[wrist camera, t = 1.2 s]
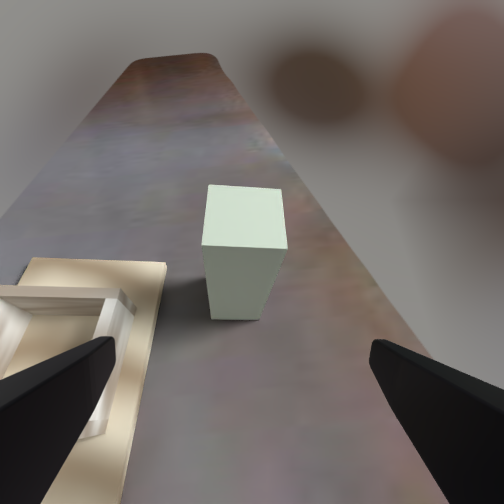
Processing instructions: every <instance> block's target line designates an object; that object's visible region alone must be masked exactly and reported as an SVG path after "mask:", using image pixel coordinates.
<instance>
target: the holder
mask: <svg viewBox="0 0 504 504" xmlns="http://www.w3.org/2000/svg"><path fill="white" fill-rule="evenodd" d="M166 270H167V266H166V263H165V262H142V261H115V260H88V259H61V258H34V257H33V258H32V259H31V261H30V263H29V265H28V267H27V268H26V270H25V272H24V274H23V276H22V277H21V279H20V281H19V283H18V285H0V380H1V379H3V378H6V377H8V376H10V375H13V374H15V373H17V372H19V371H22V370H24V369H26V368H29V367H31V366H33V365H35V364H38V363H40V362H42V361H45V360H47V359H49V358H51V357H54V356H56V355H58V354H61V353H63V352H65V351H67V350H70V349H72V348H74V347H77V346H79V345H81V344H83V343H86V342H88V341H90V340H93V339H95V338H97V337H100V336H112V337H114V339H115V348H116V363H115V366H114V369H113V371H112V373H111V375H110V378H109V380H108V382H107V384H106V386H105V388H104V391H103V393H102V395H101V397H100V399H99V402H98V404H97V406H96V408H95V410H94V412H93V414H92V416H91V418H90V419H89V421H88V423H87V425H86V426H85V428H84V430H83V431H82V433H81V435H80V437H79V438H78V440H77V442H76V444H75V445H74V447H73V449H72V450H71V452H70V454H69V456H68V457H67V459H66V461H65V462H64V464H63V466H62V468H61V469H60V471H59V473H58V475H57V476H56V478H55V480H54V481H53V483H52V485H51V487H50V488H49V490H48V492H47V493H46V495H45V497H44V499H43V500H42V502H41V504H120V502H121V497H122V492H123V487H124V482H125V477H126V472H127V466H128V461H129V456H130V451H131V446H132V441H133V436H134V431H135V426H136V421H137V416H138V411H139V406H140V401H141V396H142V391H143V386H144V381H145V376H146V371H147V366H148V361H149V356H150V351H151V346H152V341H153V336H154V331H155V326H156V321H157V316H158V311H159V306H160V301H161V295H162V290H163V285H164V280H165V275H166Z"/></svg>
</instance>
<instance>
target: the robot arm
mask: <svg viewBox="0 0 504 504" xmlns="http://www.w3.org/2000/svg"><path fill="white" fill-rule="evenodd" d="M115 363H116V348H115V339H114V337H112V336H100V337H97V338H95V339H93V340H90V341H88V342H86V343H83V344H81V345H79V346H77V347H74V348H72V349H70V350H67V351H65V352H63V353H61V354H58V355H56V356H54V357H51V358H49V359H47V360H45V361H42V362H40V363H38V364H35V365H33V366H31V367H29V368H26V369H24V370H22V371H19V372H17V373H15V374H13V375H10V376H8V377H6V378H3V379H1V380H0V504H41V502H42V500H43V499H44V497H45V495H46V493H47V492H48V490H49V488H50V487H51V485H52V483H53V481H54V480H55V478H56V476H57V475H58V473H59V471H60V469H61V468H62V466H63V464H64V462H65V461H66V459H67V457H68V456H69V454H70V452H71V450H72V449H73V447H74V445H75V444H76V442H77V440H78V438H79V437H80V435H81V433H82V431H83V430H84V428H85V426H86V425H87V423H88V421H89V419H90V418H91V416H92V414H93V412H94V410H95V408H96V406H97V404H98V402H99V399H100V397H101V395H102V393H103V391H104V388H105V386H106V384H107V382H108V380H109V378H110V375H111V373H112V371H113V369H114V366H115ZM369 364H370V367H371V369H372V371H373V373H374V375H375V377H376V379H377V381H378V383H379V385H380V387H381V389H382V391H383V393H384V395H385V397H386V399H387V401H388V403H389V405H390V407H391V409H392V411H393V412H394V414H395V416H396V417H397V419H398V421H399V422H400V424H401V425H402V427H403V429H404V430H405V432H406V434H407V435H408V437H409V439H410V440H411V442H412V443H413V445H414V447H415V448H416V450H417V452H418V453H419V455H420V456H421V458H422V460H423V461H424V463H425V465H426V466H427V468H428V470H429V471H430V473H431V474H432V476H433V478H434V479H435V481H436V483H437V484H438V486H439V487H440V489H441V491H442V492H443V494H444V496H445V497H446V499H447V500H448V502H449V504H504V390H503V389H501V388H498V387H496V386H494V385H491V384H489V383H487V382H484V381H482V380H480V379H477V378H475V377H472V376H470V375H468V374H465V373H463V372H460V371H458V370H456V369H454V368H451V367H449V366H447V365H444V364H442V363H440V362H437V361H435V360H433V359H430V358H428V357H426V356H423V355H421V354H419V353H416V352H414V351H412V350H409V349H407V348H404V347H402V346H400V345H397V344H395V343H393V342H390V341H388V340H385V339H375V340H373V342H372V346H371V351H370V357H369Z"/></svg>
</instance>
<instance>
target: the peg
mask: <svg viewBox="0 0 504 504" xmlns="http://www.w3.org/2000/svg"><path fill="white" fill-rule="evenodd" d="M287 249H288V248H287V239H286V230H285V221H284V212H283V203H282V194H281V189H267V188H252V187H237V186H222V185H209V187H208V196H207V204H206V212H205V221H204V229H203V238H202V252H203V260H204V267H205V275H206V283H207V290H208V298H209V306H210V314H211V319H223V320H259V319H260V317H261V314H262V312H263V309H264V307H265V304H266V302H267V299H268V297H269V294H270V292H271V289H272V287H273V284H274V282H275V279H276V277H277V274H278V272H279V269H280V267H281V264H282V262H283V259H284V257H285V254H286V252H287Z"/></svg>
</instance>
